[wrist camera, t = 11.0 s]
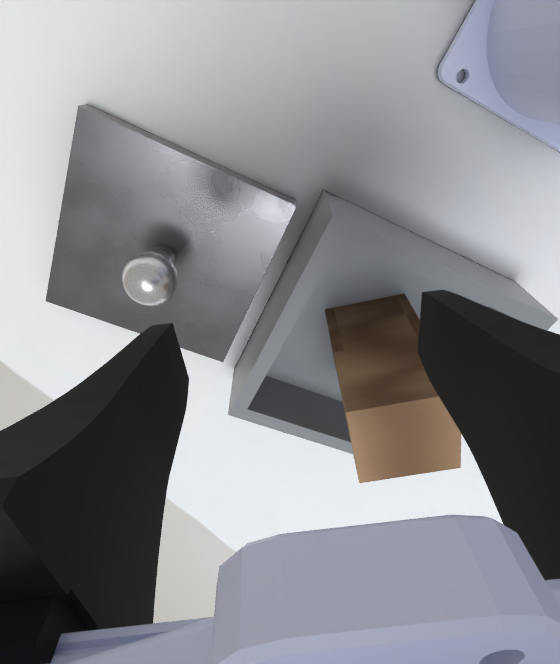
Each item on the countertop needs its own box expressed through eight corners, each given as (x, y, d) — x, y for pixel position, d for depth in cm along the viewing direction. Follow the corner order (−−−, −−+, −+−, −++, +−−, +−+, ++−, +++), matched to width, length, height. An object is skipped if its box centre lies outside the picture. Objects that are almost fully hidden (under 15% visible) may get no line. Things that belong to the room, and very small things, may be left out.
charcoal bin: (515, 281, 23) (557, 319, 19) (395, 424, 28) (411, 472, 25) (323, 189, 20) (333, 214, 16) (234, 369, 26) (228, 414, 22)
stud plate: (295, 200, 20) (301, 233, 16) (224, 352, 25) (215, 406, 21) (87, 104, 18) (32, 114, 14) (54, 292, 23) (6, 340, 19)
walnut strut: (404, 293, 22) (461, 392, 15) (408, 357, 25) (460, 467, 18) (324, 309, 23) (346, 412, 16) (336, 370, 25) (359, 483, 18)
